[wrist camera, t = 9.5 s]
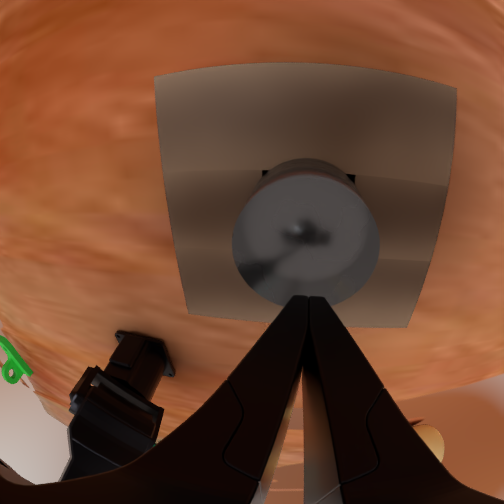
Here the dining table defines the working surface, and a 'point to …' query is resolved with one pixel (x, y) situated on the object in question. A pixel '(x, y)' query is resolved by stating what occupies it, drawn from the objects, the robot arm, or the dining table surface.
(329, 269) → the steel pin
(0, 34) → the dining table surface
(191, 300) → the block
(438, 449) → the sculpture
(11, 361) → the mechanical part
